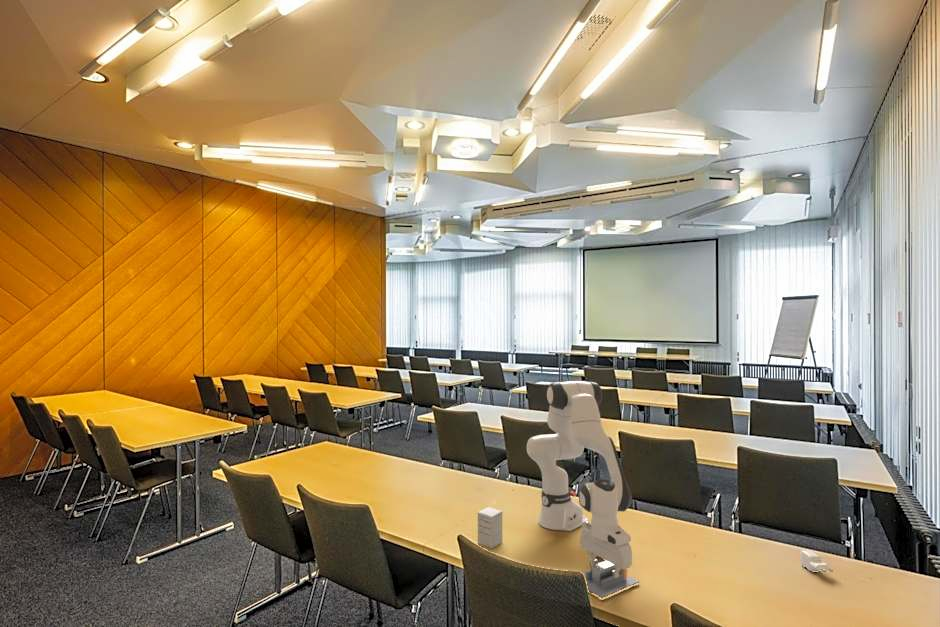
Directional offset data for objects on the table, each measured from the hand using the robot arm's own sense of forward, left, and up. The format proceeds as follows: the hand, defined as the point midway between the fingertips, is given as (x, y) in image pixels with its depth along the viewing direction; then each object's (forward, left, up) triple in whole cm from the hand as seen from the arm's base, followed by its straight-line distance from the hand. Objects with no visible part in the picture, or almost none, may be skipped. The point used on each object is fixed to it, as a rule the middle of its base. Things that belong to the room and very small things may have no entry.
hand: (604, 570), depth 171 cm
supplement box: (+15, -46, -4) cm, 49 cm away
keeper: (0, 0, -4) cm, 4 cm away
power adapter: (-69, +36, -4) cm, 78 cm away
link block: (0, 0, -3) cm, 3 cm away
